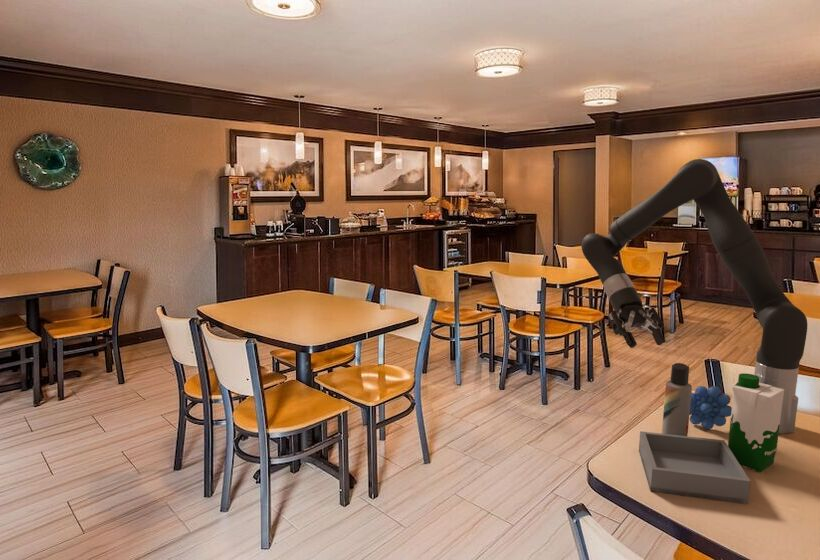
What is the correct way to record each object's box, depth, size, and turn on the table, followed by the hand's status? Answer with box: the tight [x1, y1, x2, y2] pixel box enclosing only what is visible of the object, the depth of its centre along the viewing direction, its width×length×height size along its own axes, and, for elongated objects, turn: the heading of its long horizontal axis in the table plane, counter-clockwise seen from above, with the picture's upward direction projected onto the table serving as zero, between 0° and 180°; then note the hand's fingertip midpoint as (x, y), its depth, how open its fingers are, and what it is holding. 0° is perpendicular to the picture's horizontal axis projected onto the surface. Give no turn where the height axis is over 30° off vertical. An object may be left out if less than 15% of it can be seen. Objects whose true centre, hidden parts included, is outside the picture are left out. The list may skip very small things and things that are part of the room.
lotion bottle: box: [661, 362, 693, 436], centre depth 133 cm, size 6×6×20 cm
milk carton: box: [727, 373, 784, 473], centre depth 123 cm, size 9×9×20 cm
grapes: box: [689, 385, 732, 430], centre depth 142 cm, size 12×7×12 cm, turn 42°
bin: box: [638, 430, 751, 505], centre depth 119 cm, size 18×18×5 cm
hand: (647, 345), depth 142 cm, fingers open, 8 cm apart
